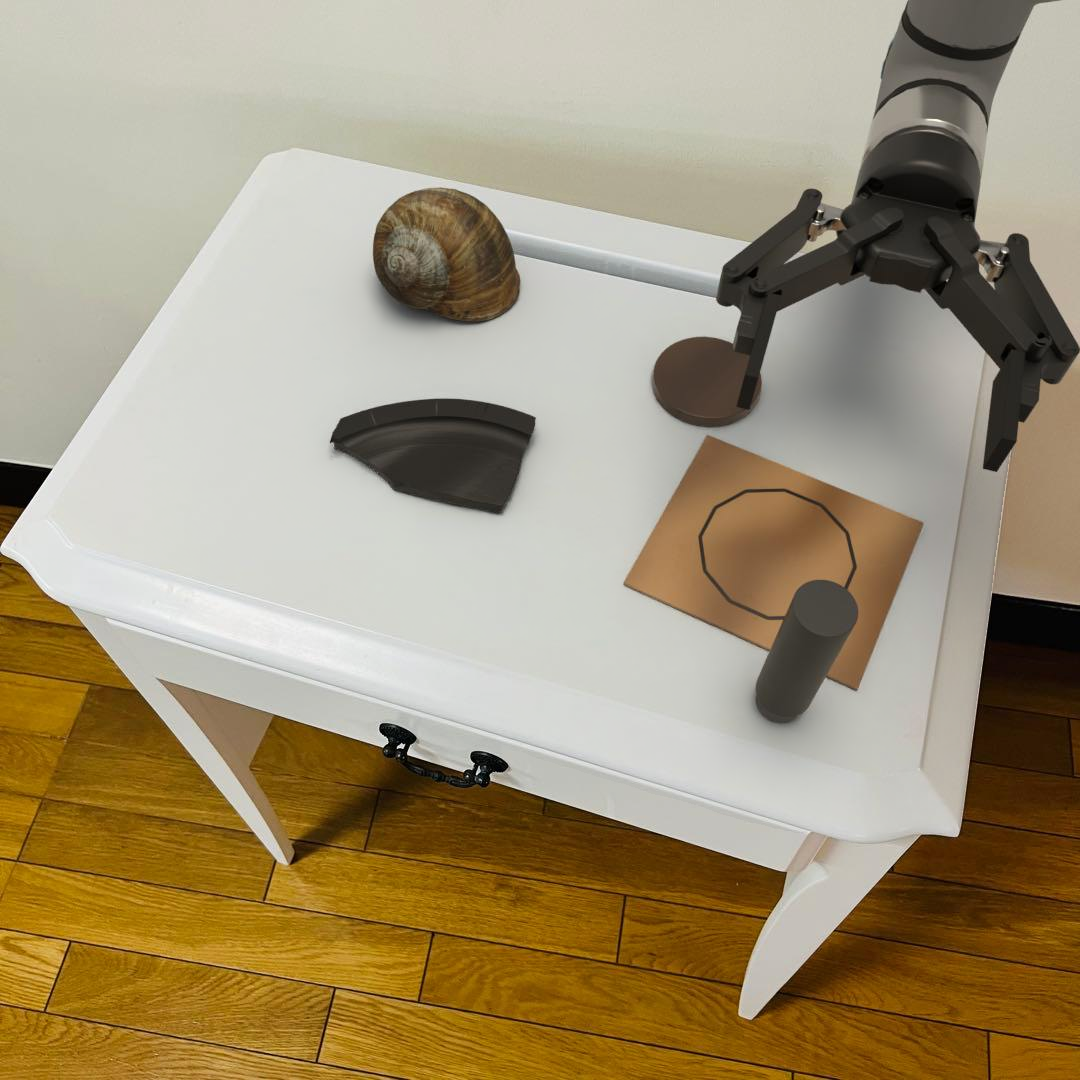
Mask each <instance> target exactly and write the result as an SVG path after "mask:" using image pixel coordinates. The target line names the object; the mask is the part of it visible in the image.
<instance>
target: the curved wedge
mask: <svg viewBox="0 0 1080 1080" xmlns="http://www.w3.org/2000/svg"><path fill="white" fill-rule="evenodd" d="M536 420H537V417H536V416H534V415H531V414H528V413H526V412H524V411H520V410H518V409H515V408H512V407H508V406H504V405H499V404H497V403H492V402H487V401H481V400H475V399H464V398H445V397H444V398H424V399H414V400H406V401H400V402H399V401H398V402H394V403H387V404H383V405H379V406H378V405H377V406H375V407H371V408H367V409H363V410H361V411H358V412H354V413H352V414H349V415H346V416H343V417H341V418H340V419H339V421H338V422H337V425H336V426H335V428H334V429H333V431H332V433H331V437H330V440H329V444H333V448H334V449H337V450H339V451H341V452H344V453H346V454H347V455H349V456H351V457H353V458H355V459H357V460H359V461H360V462H361V463H363V464H365V465H366V466H368V467H369V468H371V469H372V470H373V471H374V472H376V474H378V475H379V476H380V477H382V478H383V480H385V481H386V482H387V483H388V484H389V486H390V487H391V488H392V489H393V490H394V491H397V492H401V493H403V494H404V493H405V494H408V495H412V496H415V497H419V498H420V497H421V498H425V499H429V500H433V501H438V502H443V503H448V504H452V505H458V506H463V507H468V508H475V509H481V510H484V511H489V512H491V513H492V512H493V513H498V514H499V513H502V512H503V511H504V510H505V506H506V504H507V503H508V501H509V499H510V498H511V496H512V494H513V491H514V489H515V486H516V484H517V480H518V478H519V475H520V471H521V466H522V462H523V457H524V454H525V451H526V449H527V446H528V445H529V444H530V442H531V437H532V436H533V433H534V431H535V428H536Z"/></svg>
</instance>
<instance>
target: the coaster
mask: <svg viewBox="0 0 1080 1080" xmlns="http://www.w3.org/2000/svg"><path fill="white" fill-rule="evenodd" d="M749 358H750V356H749V355H745V354H741V353H737V352H734V348H733V342H731V341H728V340H725V339H722V338H718V337H712V336H693V337H687V338H684V339H680V340H678V341H676V342H674V343H672V344H671V345H668V346H667V347H666V348H665V349H664V350H663V351H662V352H661V353H660V354H659V356H658V357H657V359H656V361H655V363H654V366H653V373H652V378H651V385H652V390H653V393H654V395H655V397H656V400H657V401H658V403H659V404H660V406H661V407H662V408H663V409H664V410H665V411H666V412H668V413H669V414H670V415H671V416H673V417H675V418H676V419H677V420H680V421H683V422H685V423H687V424H690V425H694V426H699V427H711V428H712V427H713V428H714V427H723V426H727V425H730V424H733V423H735V422H737V421H740V420H742V419H743V418H745V417H746V416H747V415H749V414H750V412H751V411H752V410H753V409H754V408H755V406H756V405H757V402H758V400H759V397H760V394H761V390H762V383H763V380H762V374H761V372H760V374H759V378H758V381H757V385H756V388H755V392H754V395H753V399H752V403H751V406H750V410H747V409H743V408H739V407H736V406H737V402H738V398H739V394H740V391H741V387H742V383H743V380H744V376H745V372H746V369H747V365H748V362H749Z"/></svg>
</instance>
